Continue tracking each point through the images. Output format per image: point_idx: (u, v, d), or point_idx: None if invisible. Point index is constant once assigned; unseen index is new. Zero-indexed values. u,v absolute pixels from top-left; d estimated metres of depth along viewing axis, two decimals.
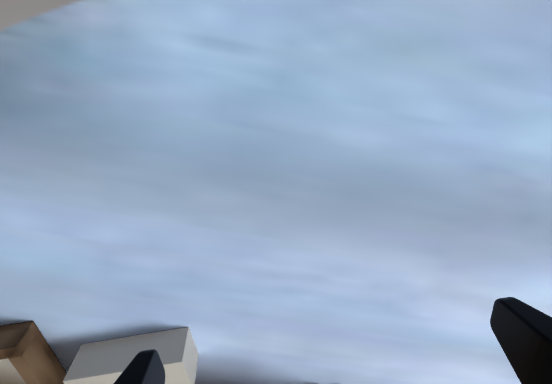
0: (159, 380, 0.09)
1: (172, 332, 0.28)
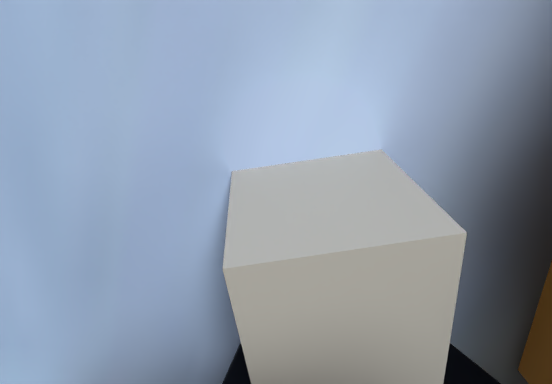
0: None
1: None
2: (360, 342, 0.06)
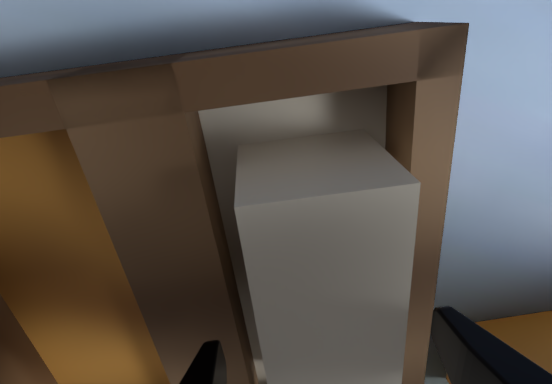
0: (223, 370, 0.09)
1: None
2: (341, 274, 0.07)
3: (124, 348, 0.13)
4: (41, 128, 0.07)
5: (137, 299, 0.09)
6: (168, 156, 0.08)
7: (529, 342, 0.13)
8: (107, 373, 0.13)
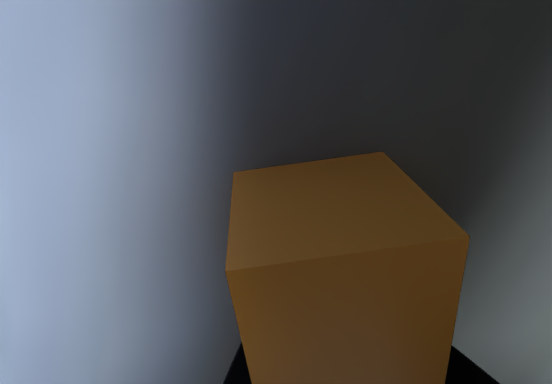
0: None
1: None
2: None
3: None
4: None
5: None
6: None
7: None
8: None
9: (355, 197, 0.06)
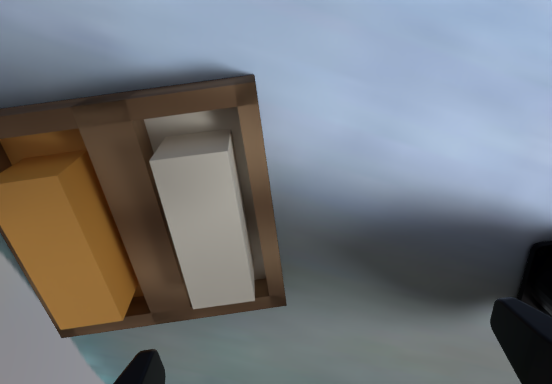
0: (159, 380, 0.09)
1: None
2: (202, 194, 0.16)
3: None
4: (67, 128, 0.16)
5: (113, 216, 0.18)
6: (125, 141, 0.17)
7: None
8: None
9: (47, 166, 0.17)
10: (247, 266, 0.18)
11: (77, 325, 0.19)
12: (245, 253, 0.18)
